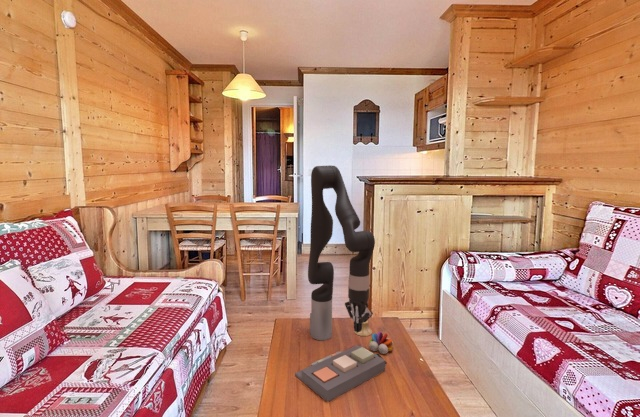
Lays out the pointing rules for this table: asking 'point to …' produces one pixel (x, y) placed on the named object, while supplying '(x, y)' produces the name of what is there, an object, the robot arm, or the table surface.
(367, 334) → the hand bell
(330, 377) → the key terracotta
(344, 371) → the key cream
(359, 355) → the key sage
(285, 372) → the table surface
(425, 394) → the table surface
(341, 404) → the table surface
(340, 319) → the table surface
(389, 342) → the rainbow petal flower toy
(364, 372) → the keypad
